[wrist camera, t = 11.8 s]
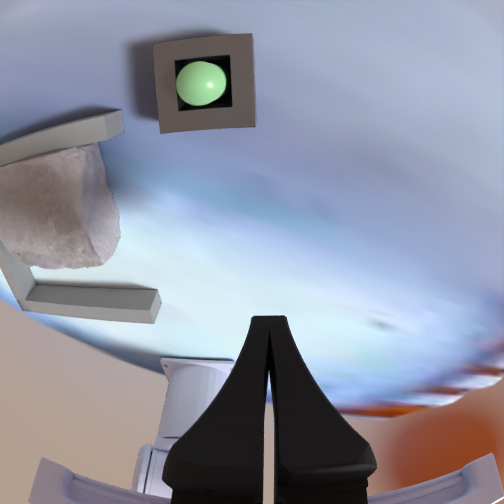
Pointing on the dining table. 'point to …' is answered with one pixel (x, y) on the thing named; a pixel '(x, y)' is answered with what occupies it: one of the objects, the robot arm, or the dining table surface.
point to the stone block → (59, 209)
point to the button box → (210, 115)
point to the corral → (63, 297)
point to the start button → (202, 83)
